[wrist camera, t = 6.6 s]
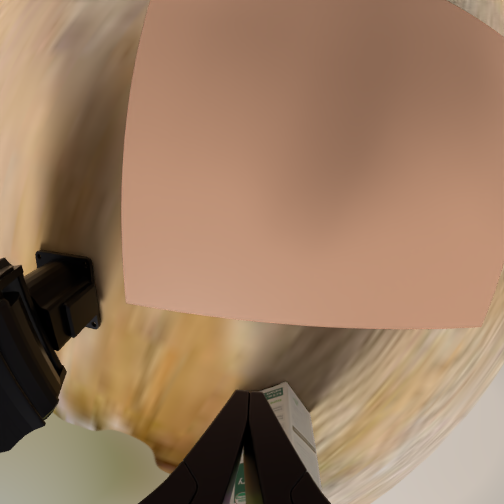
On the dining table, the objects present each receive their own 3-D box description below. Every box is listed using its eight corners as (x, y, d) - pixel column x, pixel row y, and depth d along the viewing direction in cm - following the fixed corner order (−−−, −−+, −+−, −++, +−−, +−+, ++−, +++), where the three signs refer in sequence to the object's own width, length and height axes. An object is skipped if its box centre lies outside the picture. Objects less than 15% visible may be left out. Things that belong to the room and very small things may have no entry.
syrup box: (286, 378, 22) (298, 537, 9) (312, 414, 24) (329, 546, 10) (230, 398, 24) (210, 543, 10) (260, 430, 25) (256, 555, 11)
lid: (139, 287, 14) (124, 305, 13) (177, -37, 9) (167, -55, 7) (467, 313, 14) (482, 328, 12) (494, 40, 9) (511, 34, 7)
